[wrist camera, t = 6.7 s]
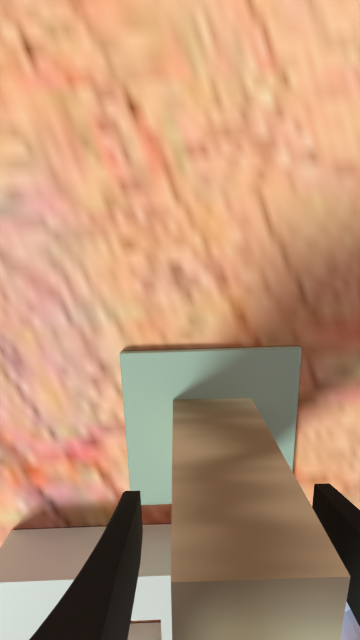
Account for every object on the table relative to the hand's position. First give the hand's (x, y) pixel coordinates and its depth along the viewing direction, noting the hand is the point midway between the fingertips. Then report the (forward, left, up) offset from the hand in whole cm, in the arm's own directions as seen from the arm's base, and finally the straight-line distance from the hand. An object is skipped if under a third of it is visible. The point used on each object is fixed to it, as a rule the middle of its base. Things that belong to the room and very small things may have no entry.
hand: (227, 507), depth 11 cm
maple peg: (0, 0, -5) cm, 5 cm away
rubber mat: (0, 0, -5) cm, 5 cm away
